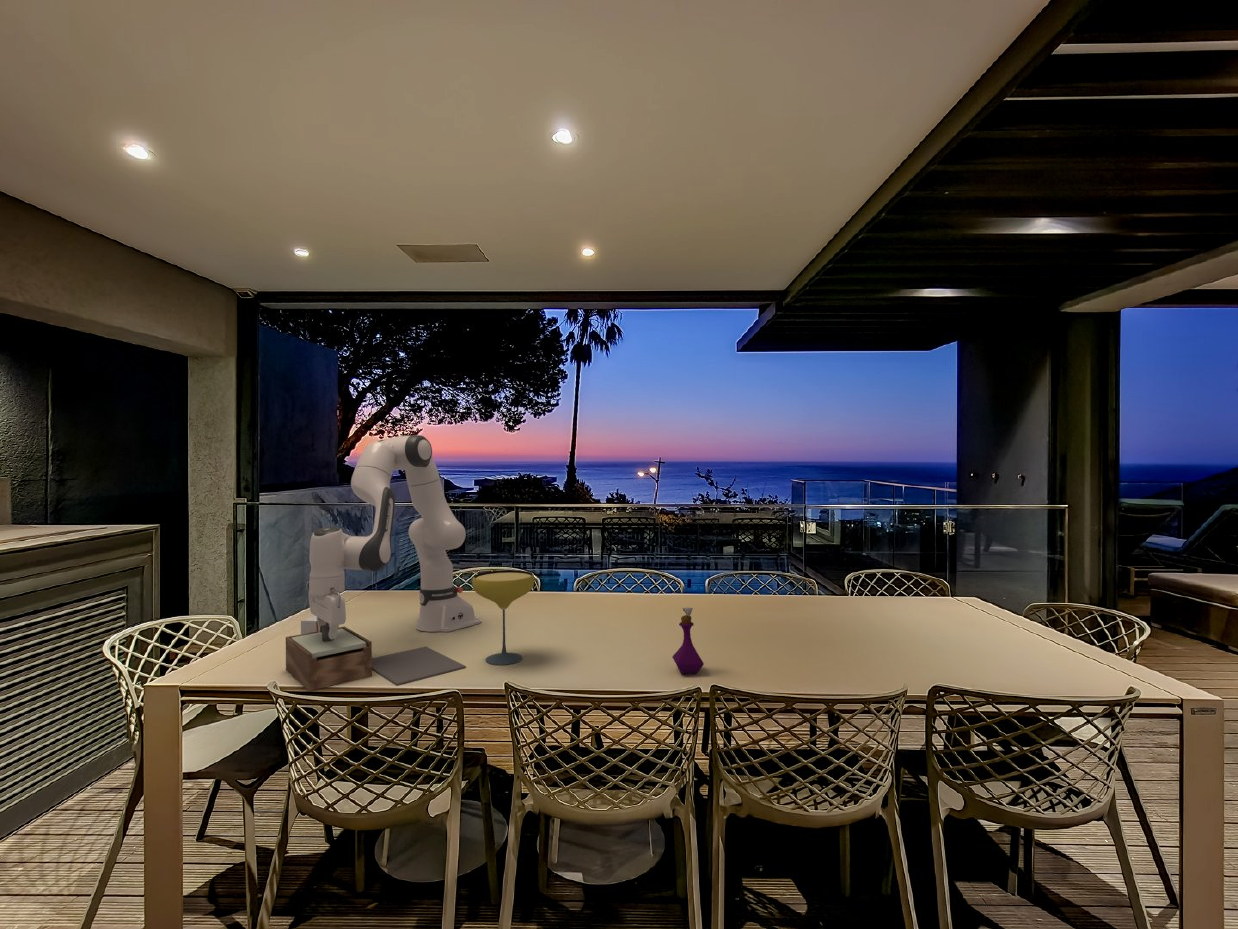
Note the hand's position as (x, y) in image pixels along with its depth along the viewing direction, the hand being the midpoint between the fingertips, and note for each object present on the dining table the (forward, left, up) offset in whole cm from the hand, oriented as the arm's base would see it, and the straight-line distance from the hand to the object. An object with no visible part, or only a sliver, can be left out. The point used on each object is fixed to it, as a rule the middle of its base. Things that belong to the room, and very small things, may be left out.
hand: (327, 635), depth 168 cm
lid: (0, 0, -3) cm, 3 cm away
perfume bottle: (-73, +69, -11) cm, 101 cm away
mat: (-20, +10, -11) cm, 25 cm away
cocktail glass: (-42, +24, -11) cm, 50 cm away
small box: (-4, -24, -11) cm, 27 cm away
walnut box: (0, 0, -11) cm, 11 cm away
